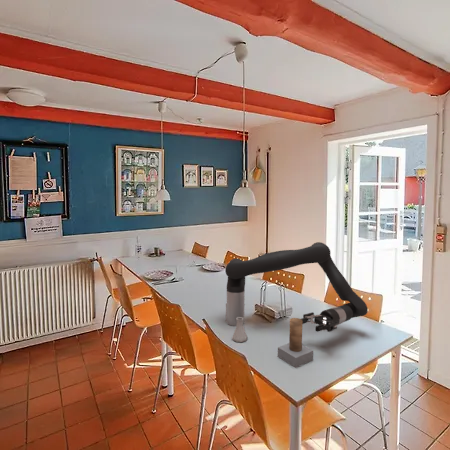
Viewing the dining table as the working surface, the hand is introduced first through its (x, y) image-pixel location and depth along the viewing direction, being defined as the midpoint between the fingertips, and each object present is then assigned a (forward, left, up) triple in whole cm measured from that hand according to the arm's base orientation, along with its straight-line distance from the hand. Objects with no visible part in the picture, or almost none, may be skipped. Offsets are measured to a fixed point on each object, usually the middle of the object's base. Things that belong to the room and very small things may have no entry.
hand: (308, 325), depth 130 cm
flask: (-26, -16, -12) cm, 33 cm away
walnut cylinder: (0, -7, -8) cm, 11 cm away
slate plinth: (0, -7, -12) cm, 14 cm away
